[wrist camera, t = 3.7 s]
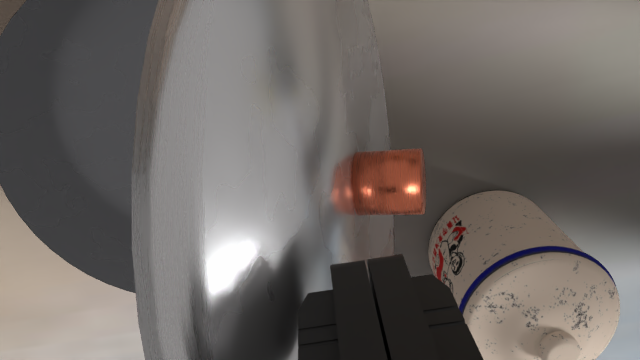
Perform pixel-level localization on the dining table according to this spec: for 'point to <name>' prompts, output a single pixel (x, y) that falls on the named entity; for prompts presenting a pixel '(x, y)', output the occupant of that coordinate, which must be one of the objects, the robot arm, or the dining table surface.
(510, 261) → the teacup with lid
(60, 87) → the cooker pot
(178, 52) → the lid
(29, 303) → the dining table surface
